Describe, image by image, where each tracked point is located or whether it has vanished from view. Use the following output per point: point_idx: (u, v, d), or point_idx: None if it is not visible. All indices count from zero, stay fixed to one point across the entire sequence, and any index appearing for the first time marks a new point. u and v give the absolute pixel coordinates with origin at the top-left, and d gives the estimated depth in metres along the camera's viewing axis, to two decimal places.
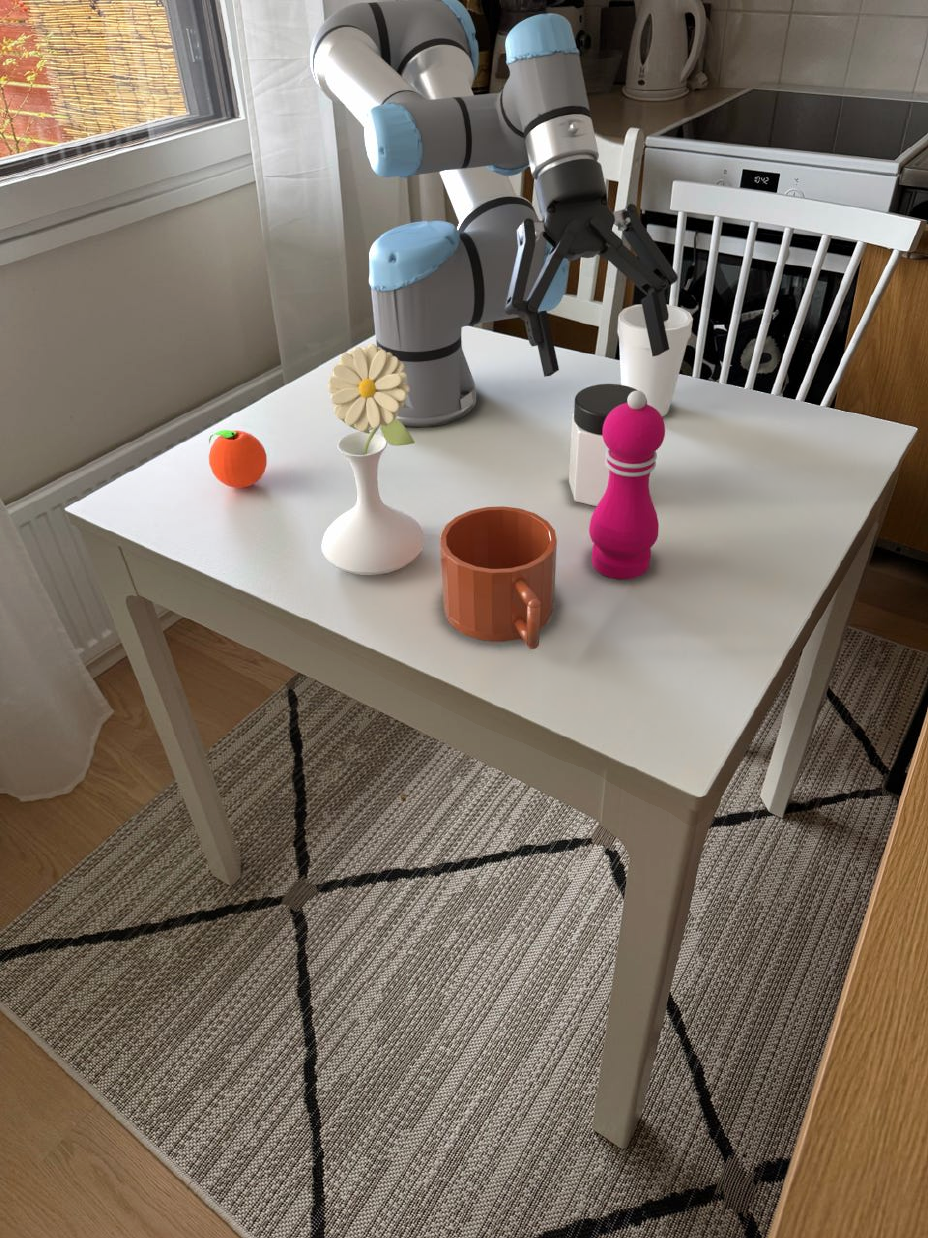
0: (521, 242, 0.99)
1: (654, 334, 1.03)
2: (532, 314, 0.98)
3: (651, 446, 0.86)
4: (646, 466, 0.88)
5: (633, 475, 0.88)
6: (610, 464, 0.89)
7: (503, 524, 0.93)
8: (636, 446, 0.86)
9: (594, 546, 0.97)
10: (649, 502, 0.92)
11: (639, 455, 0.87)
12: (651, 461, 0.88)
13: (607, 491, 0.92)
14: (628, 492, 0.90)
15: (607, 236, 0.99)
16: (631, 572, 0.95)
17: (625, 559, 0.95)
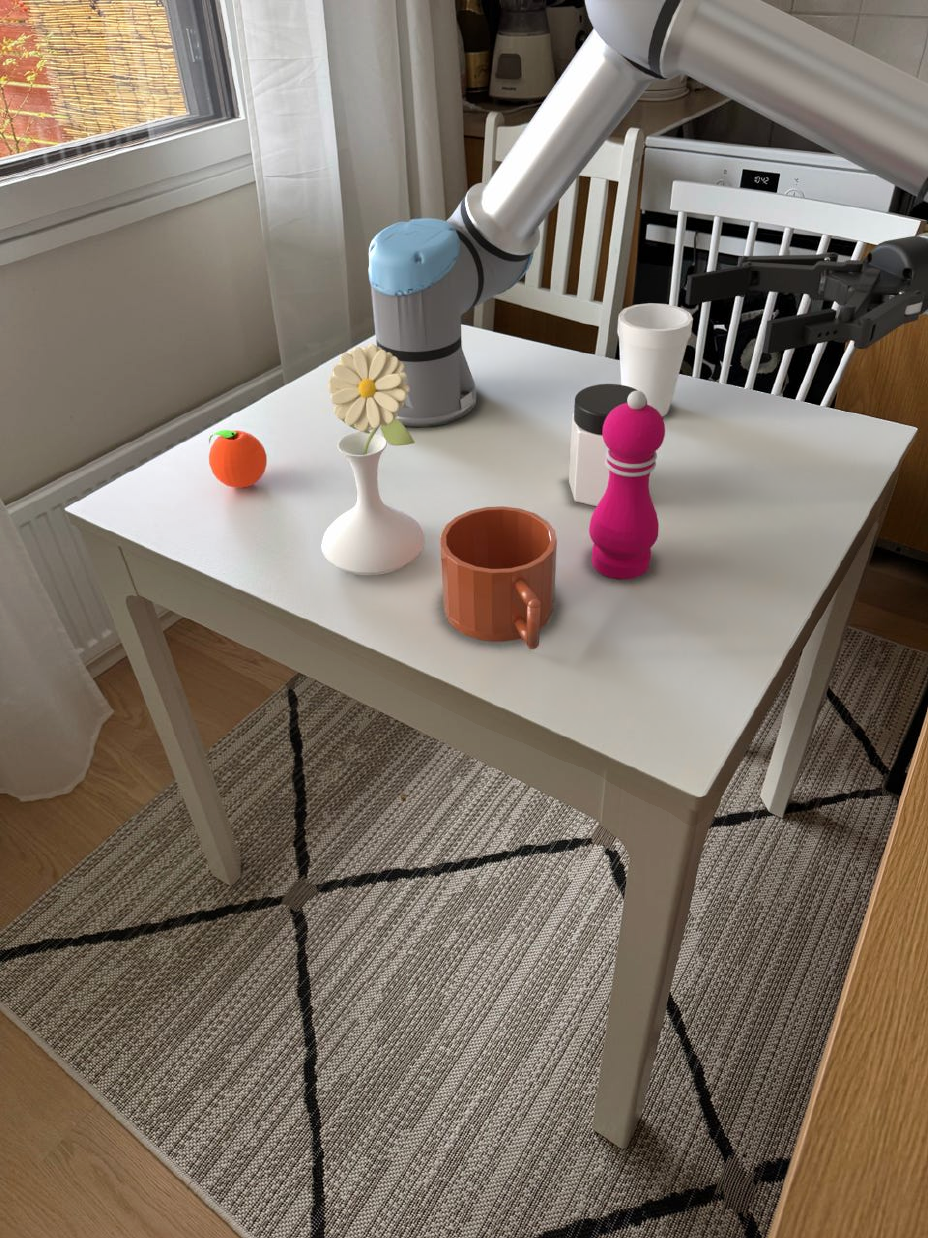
0: (908, 305, 0.82)
1: (709, 288, 0.89)
2: None
3: (651, 446, 0.86)
4: (646, 466, 0.88)
5: (633, 475, 0.88)
6: (610, 464, 0.89)
7: (503, 524, 0.93)
8: (636, 446, 0.86)
9: (594, 546, 0.97)
10: (649, 502, 0.92)
11: (639, 455, 0.87)
12: (651, 461, 0.88)
13: (607, 491, 0.92)
14: (627, 492, 0.90)
15: None
16: (631, 572, 0.95)
17: (625, 559, 0.95)
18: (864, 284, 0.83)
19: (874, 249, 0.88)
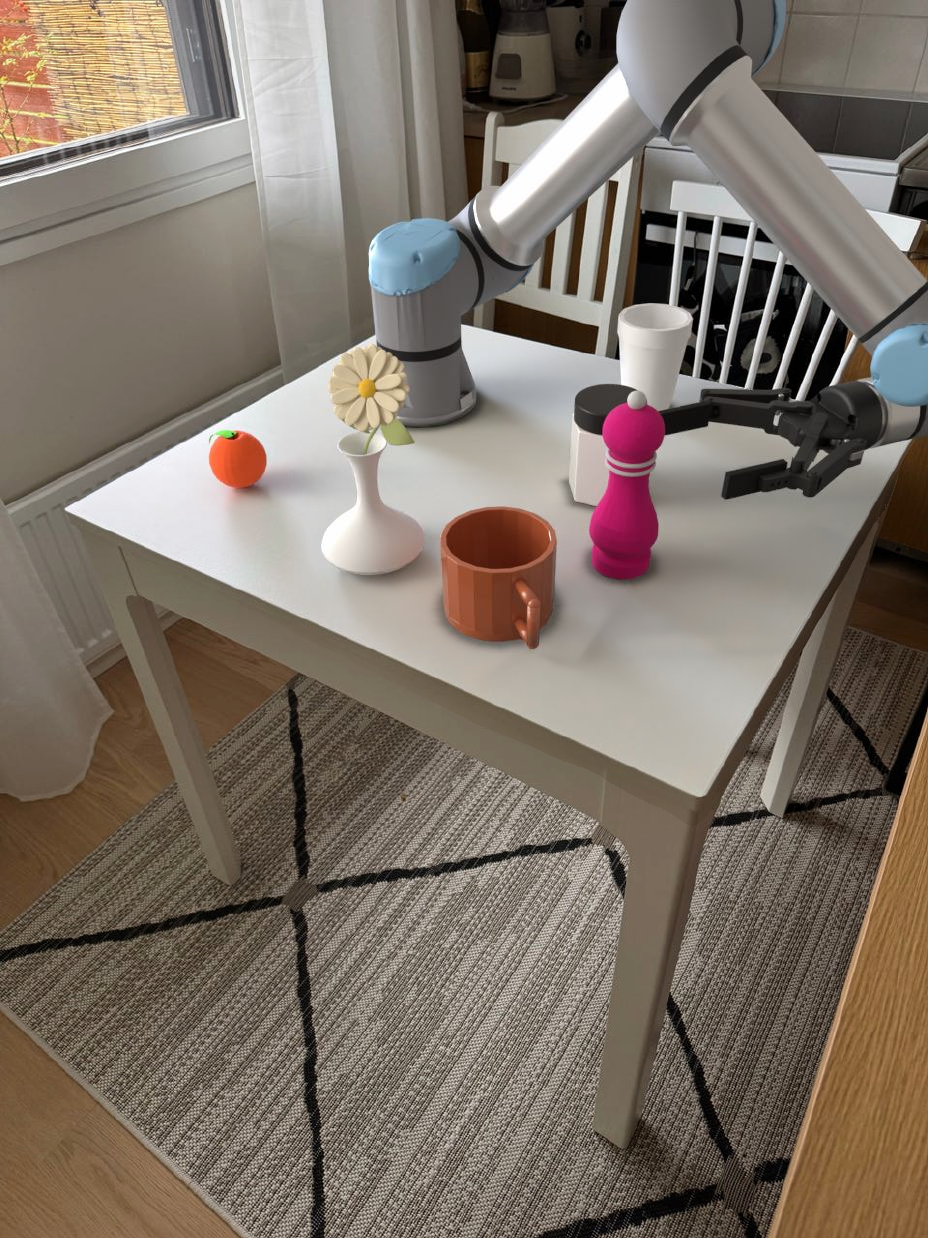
0: (851, 453, 0.90)
1: (674, 423, 0.97)
2: None
3: (651, 446, 0.86)
4: (646, 466, 0.88)
5: (633, 475, 0.88)
6: (610, 464, 0.89)
7: (503, 524, 0.93)
8: (636, 446, 0.86)
9: (594, 546, 0.97)
10: (649, 502, 0.92)
11: (639, 455, 0.87)
12: (651, 461, 0.88)
13: (607, 491, 0.92)
14: (627, 492, 0.90)
15: None
16: (631, 572, 0.95)
17: (625, 559, 0.95)
18: (813, 431, 0.92)
19: (823, 391, 0.96)
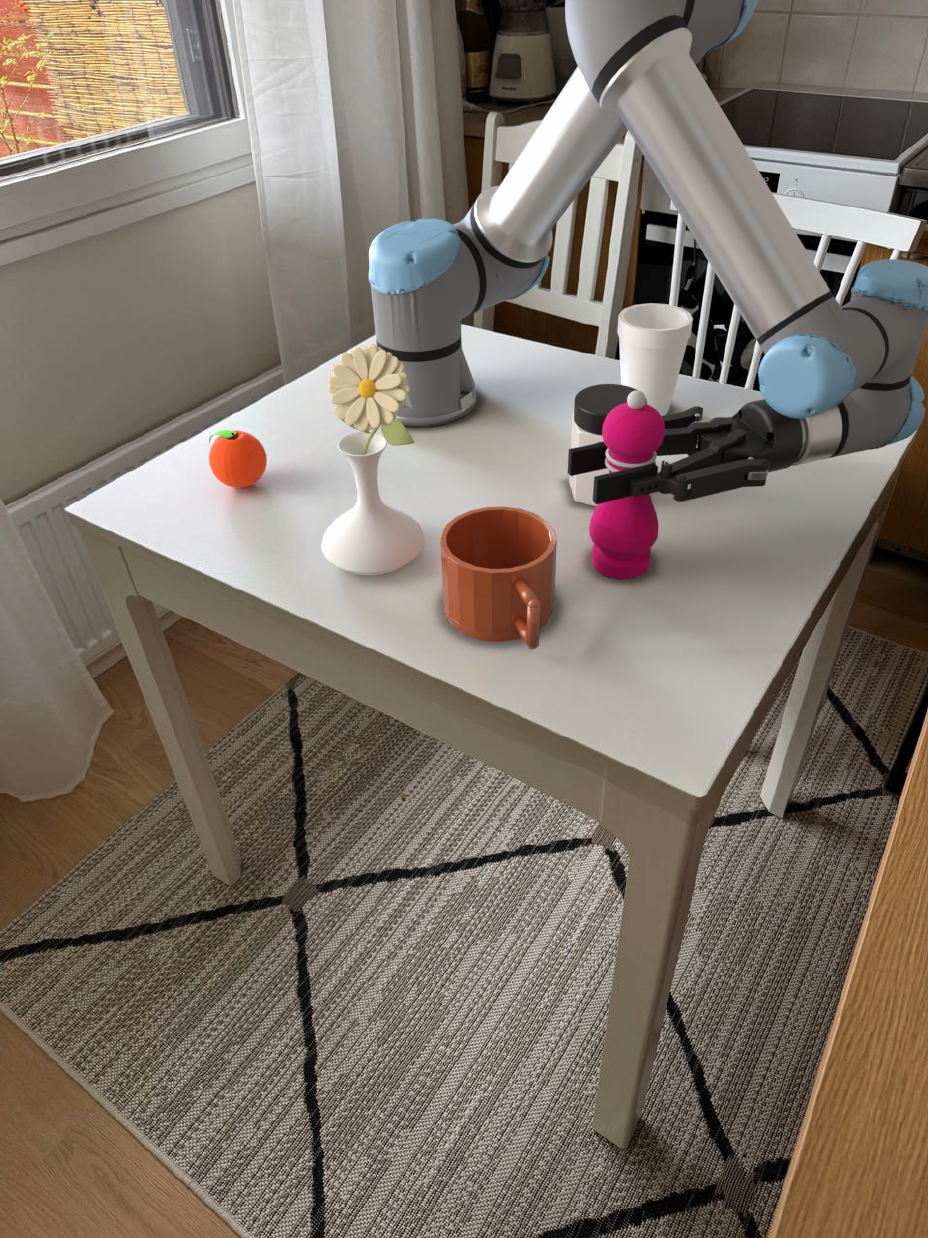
0: (748, 471, 0.88)
1: (590, 461, 0.92)
2: None
3: (651, 446, 0.86)
4: None
5: None
6: (610, 464, 0.89)
7: (503, 524, 0.93)
8: (635, 446, 0.86)
9: (594, 546, 0.97)
10: (649, 502, 0.92)
11: (638, 455, 0.87)
12: (651, 461, 0.88)
13: None
14: None
15: None
16: (631, 572, 0.95)
17: (625, 559, 0.95)
18: (715, 444, 0.90)
19: (743, 407, 0.94)
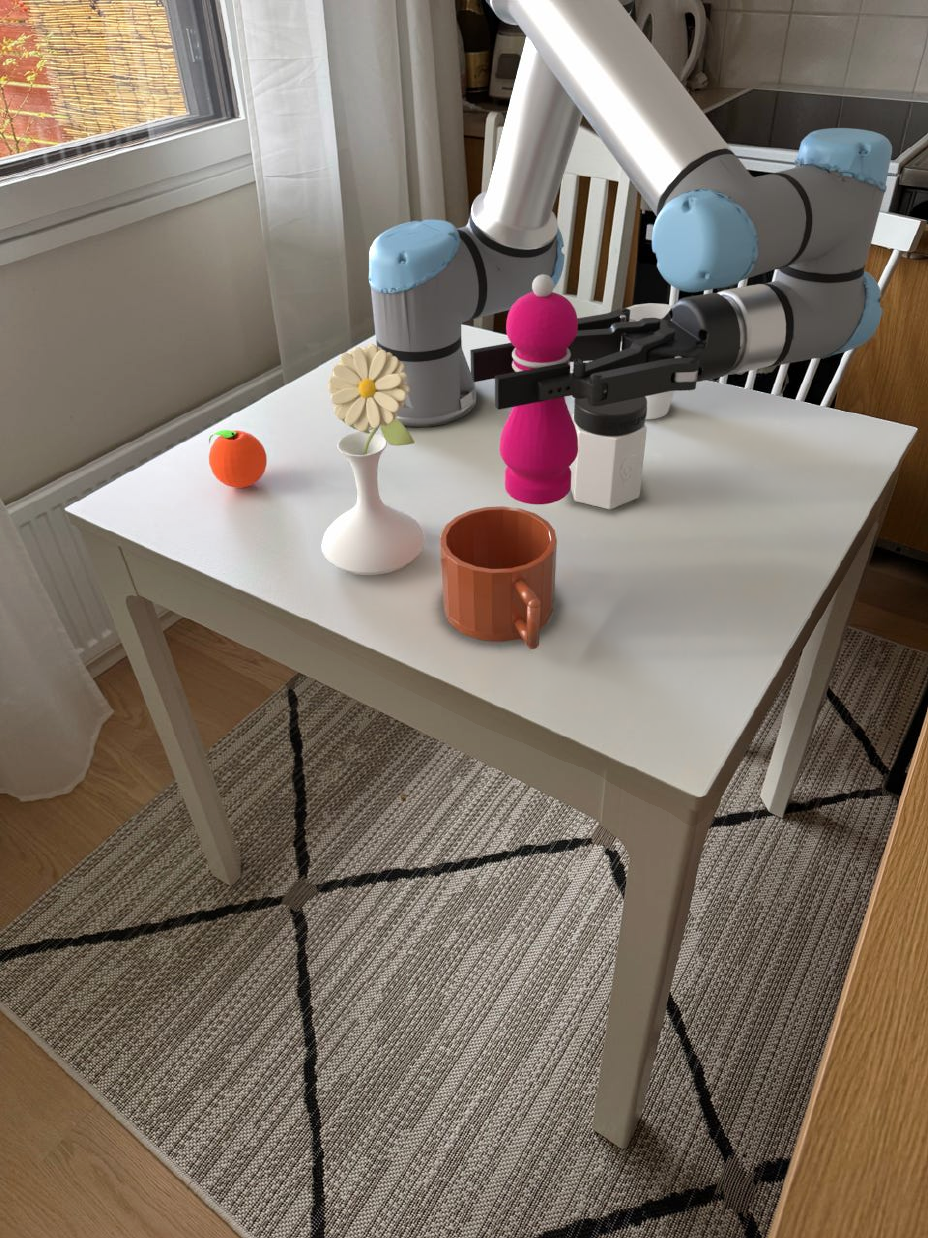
0: (675, 372, 0.76)
1: (496, 364, 0.80)
2: None
3: (560, 339, 0.74)
4: None
5: None
6: (516, 365, 0.77)
7: (503, 524, 0.93)
8: (542, 339, 0.74)
9: (507, 468, 0.85)
10: (565, 412, 0.80)
11: (547, 351, 0.75)
12: (562, 360, 0.76)
13: None
14: None
15: None
16: (547, 495, 0.83)
17: (540, 480, 0.83)
18: (638, 343, 0.78)
19: (674, 305, 0.82)
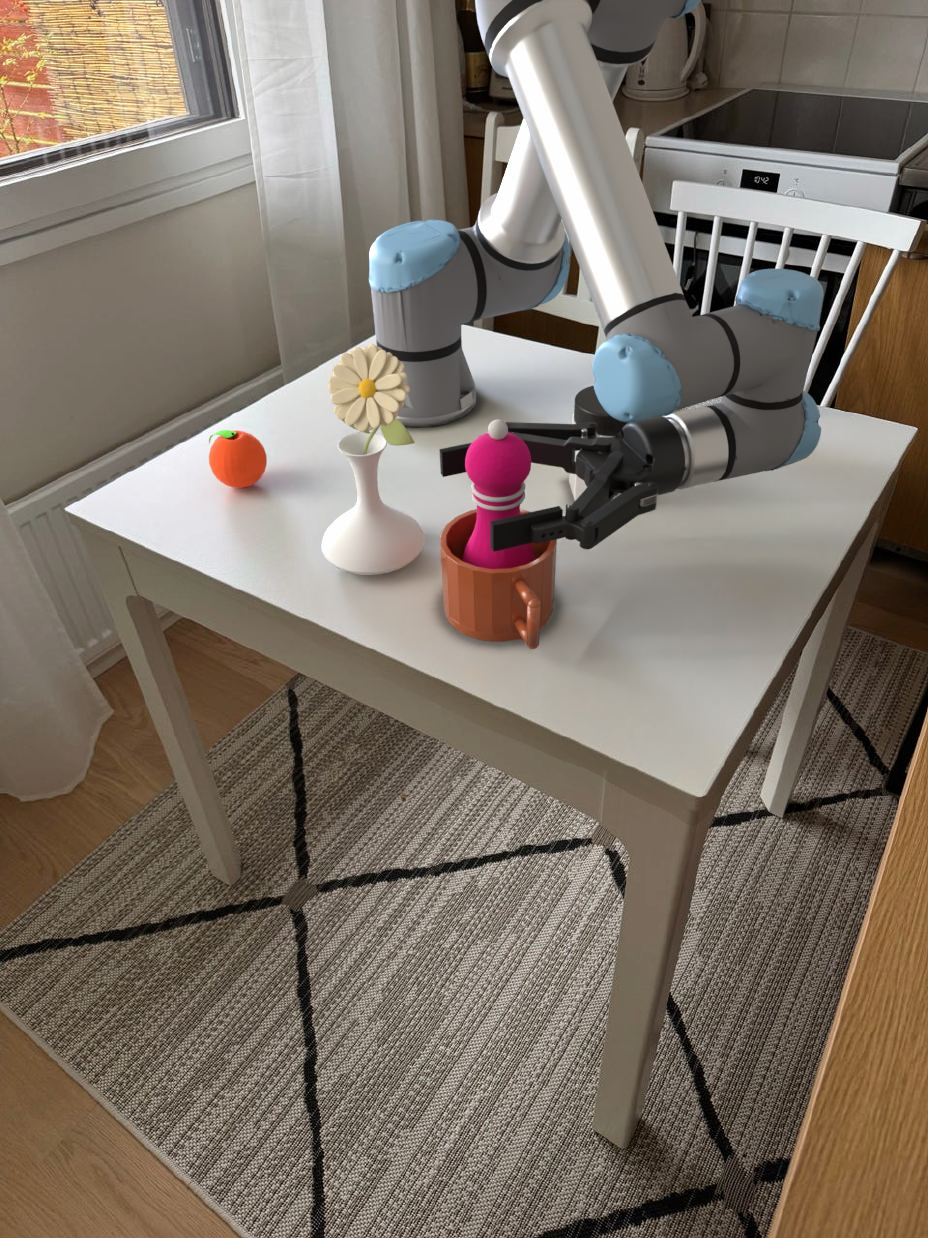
0: (641, 498, 0.82)
1: (463, 461, 0.89)
2: None
3: (514, 479, 0.80)
4: (512, 500, 0.82)
5: (498, 509, 0.82)
6: (475, 497, 0.83)
7: None
8: (497, 479, 0.80)
9: None
10: None
11: (501, 489, 0.81)
12: (517, 494, 0.82)
13: (476, 525, 0.86)
14: None
15: None
16: None
17: None
18: (602, 473, 0.83)
19: (625, 427, 0.88)
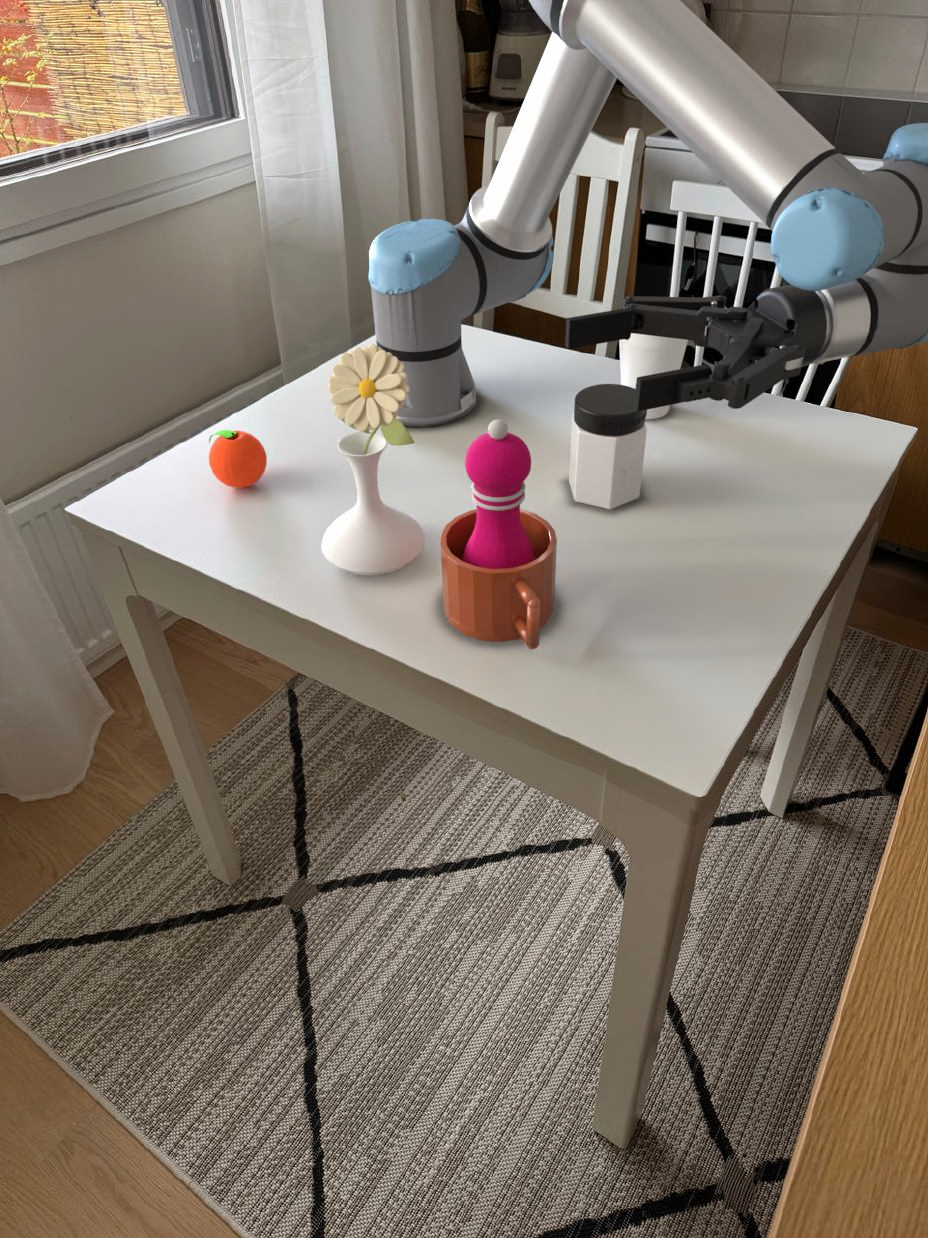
0: (787, 361, 0.78)
1: (589, 332, 0.85)
2: None
3: (514, 479, 0.80)
4: (512, 500, 0.82)
5: (498, 509, 0.82)
6: (475, 497, 0.83)
7: None
8: (497, 479, 0.80)
9: None
10: (521, 536, 0.86)
11: (501, 489, 0.81)
12: (517, 494, 0.82)
13: (476, 525, 0.86)
14: (495, 527, 0.84)
15: None
16: None
17: None
18: (744, 336, 0.79)
19: (760, 296, 0.84)
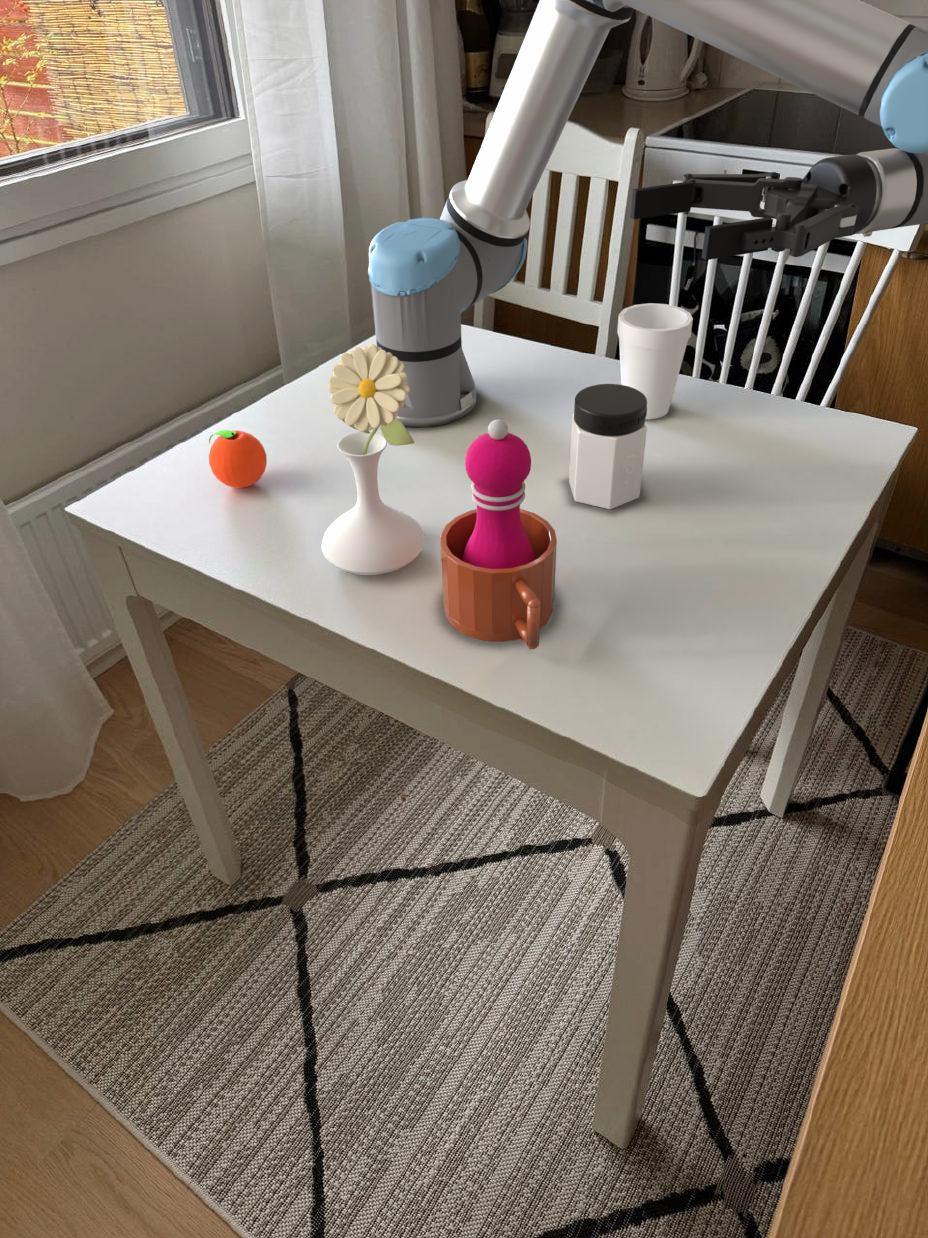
0: (842, 218, 0.84)
1: (653, 203, 0.91)
2: None
3: (514, 479, 0.80)
4: (512, 500, 0.82)
5: (498, 509, 0.82)
6: (475, 497, 0.83)
7: None
8: (497, 479, 0.80)
9: None
10: (521, 536, 0.86)
11: (501, 489, 0.81)
12: (517, 494, 0.82)
13: (476, 525, 0.86)
14: (495, 527, 0.84)
15: None
16: None
17: None
18: (801, 197, 0.85)
19: (813, 167, 0.90)
